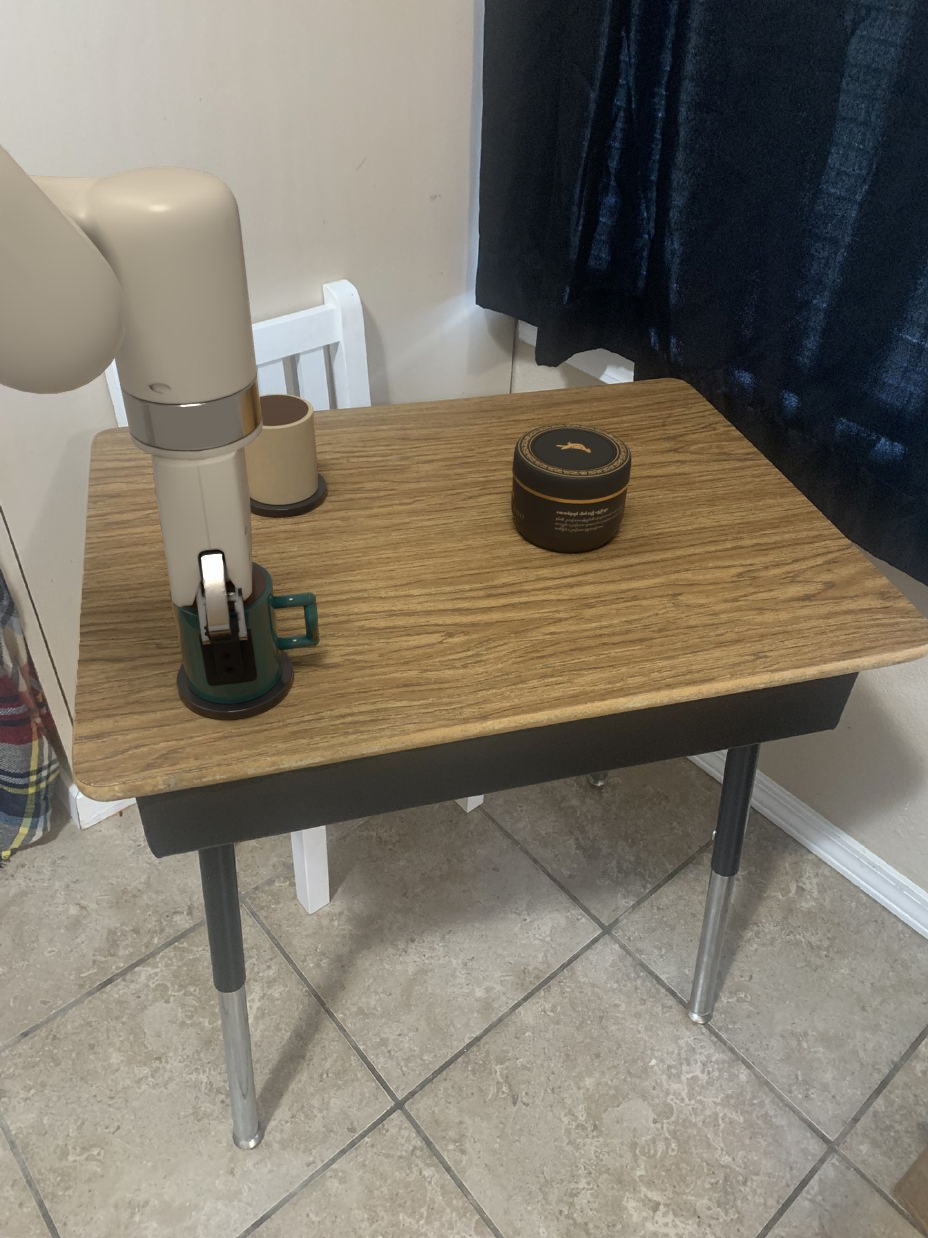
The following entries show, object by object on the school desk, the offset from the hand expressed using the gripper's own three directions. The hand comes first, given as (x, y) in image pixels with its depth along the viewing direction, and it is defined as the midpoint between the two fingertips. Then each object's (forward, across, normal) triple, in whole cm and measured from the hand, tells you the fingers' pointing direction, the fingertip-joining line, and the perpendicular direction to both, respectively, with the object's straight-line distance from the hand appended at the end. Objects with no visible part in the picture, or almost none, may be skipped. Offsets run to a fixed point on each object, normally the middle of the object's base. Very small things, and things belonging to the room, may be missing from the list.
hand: (230, 643), depth 67 cm
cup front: (+3, 0, +1) cm, 3 cm away
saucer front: (+3, 0, 0) cm, 3 cm away
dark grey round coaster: (+3, -25, +5) cm, 26 cm away
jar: (+4, -16, +29) cm, 33 cm away
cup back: (+3, -26, +5) cm, 27 cm away
